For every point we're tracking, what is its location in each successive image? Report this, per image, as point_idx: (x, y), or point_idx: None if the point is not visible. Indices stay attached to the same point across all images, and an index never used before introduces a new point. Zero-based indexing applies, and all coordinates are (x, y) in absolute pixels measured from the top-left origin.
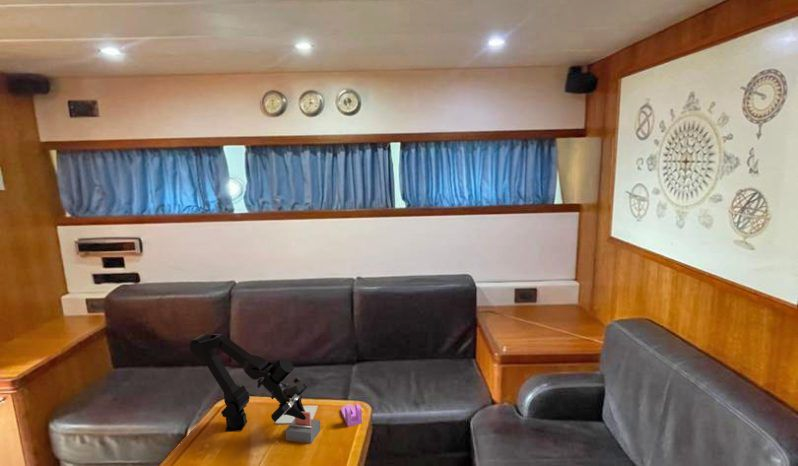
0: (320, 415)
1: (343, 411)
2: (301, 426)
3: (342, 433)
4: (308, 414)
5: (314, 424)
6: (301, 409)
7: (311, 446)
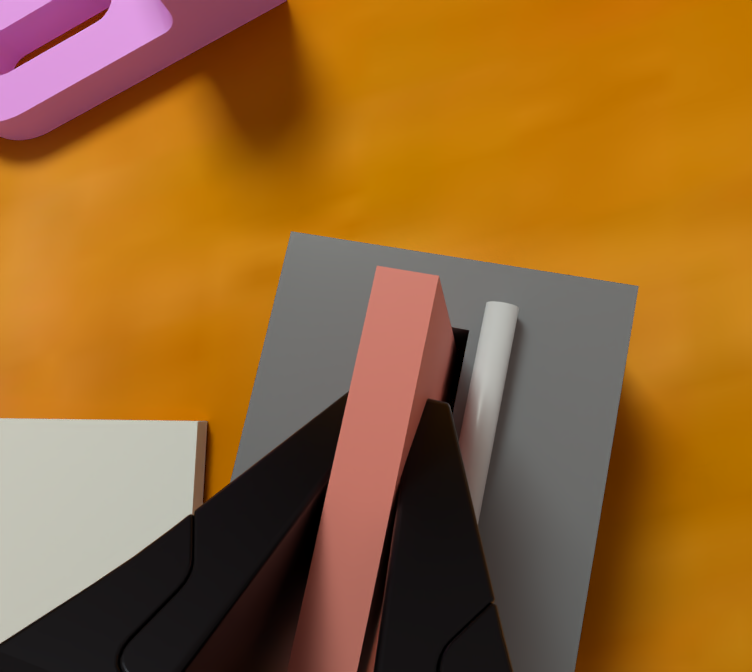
0: (60, 346)
1: (45, 83)
2: (484, 484)
3: (402, 23)
4: (437, 310)
5: None
6: (279, 564)
7: (661, 302)
